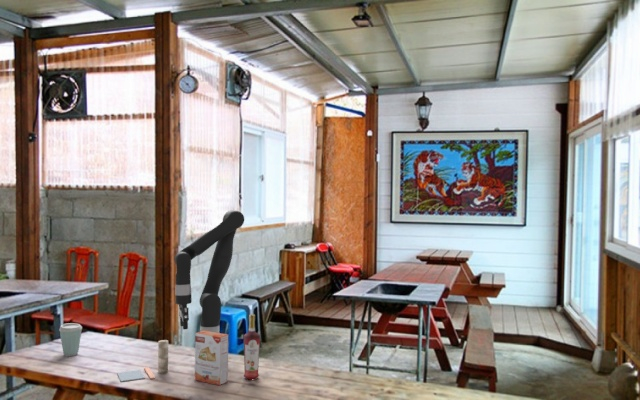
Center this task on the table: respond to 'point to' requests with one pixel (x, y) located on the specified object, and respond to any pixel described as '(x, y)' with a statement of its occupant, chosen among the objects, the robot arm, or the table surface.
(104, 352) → the table surface
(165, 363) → the beige tall cylinder
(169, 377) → the table surface
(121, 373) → the mat
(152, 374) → the orange long flat bar
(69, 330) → the disposable coffee cup
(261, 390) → the table surface
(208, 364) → the cracker box
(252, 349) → the liquor
